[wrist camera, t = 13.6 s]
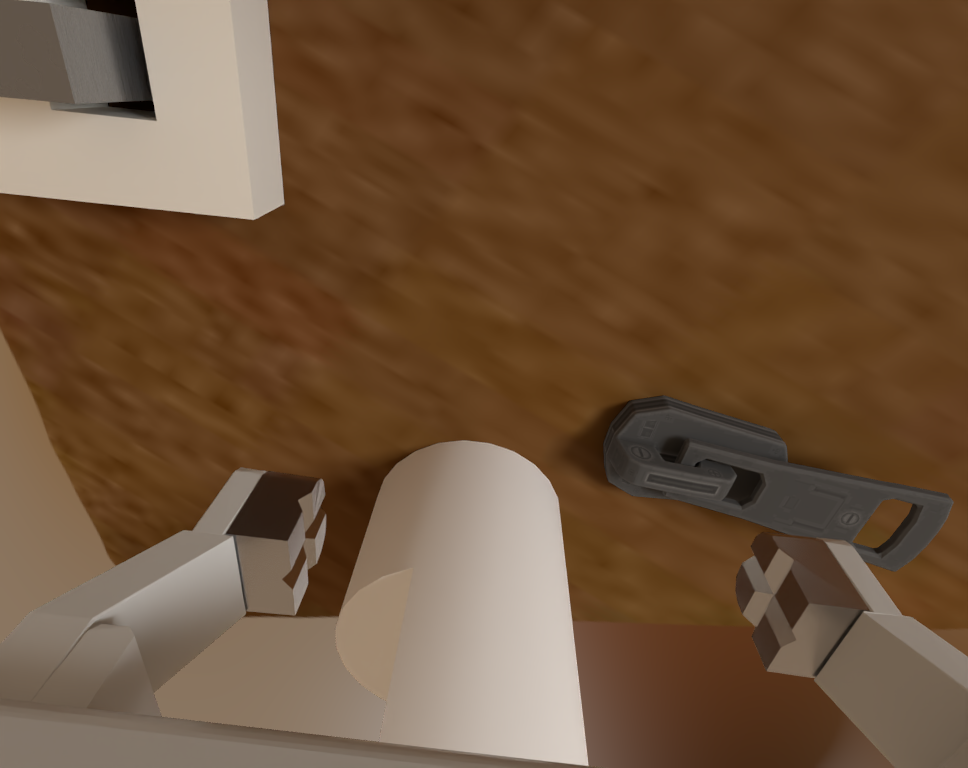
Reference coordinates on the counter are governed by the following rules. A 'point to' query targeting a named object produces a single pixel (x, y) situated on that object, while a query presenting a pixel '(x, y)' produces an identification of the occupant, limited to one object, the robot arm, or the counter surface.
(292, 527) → the robot arm
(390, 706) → the cylinder
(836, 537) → the zipper pull
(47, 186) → the well block
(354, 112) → the counter surface
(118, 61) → the metal bar
